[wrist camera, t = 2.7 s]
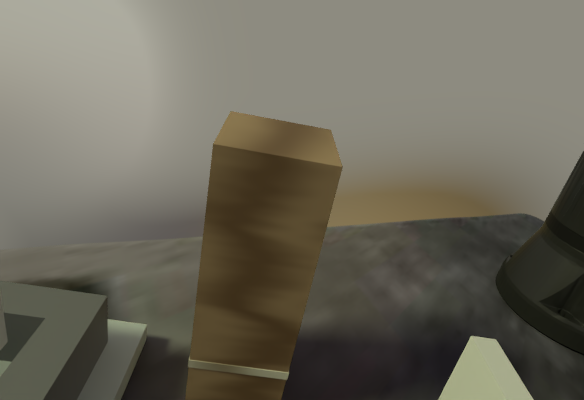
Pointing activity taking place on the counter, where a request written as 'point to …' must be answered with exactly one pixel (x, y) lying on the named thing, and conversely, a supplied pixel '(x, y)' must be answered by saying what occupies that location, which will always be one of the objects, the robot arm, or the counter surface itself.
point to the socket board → (64, 346)
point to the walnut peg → (258, 254)
